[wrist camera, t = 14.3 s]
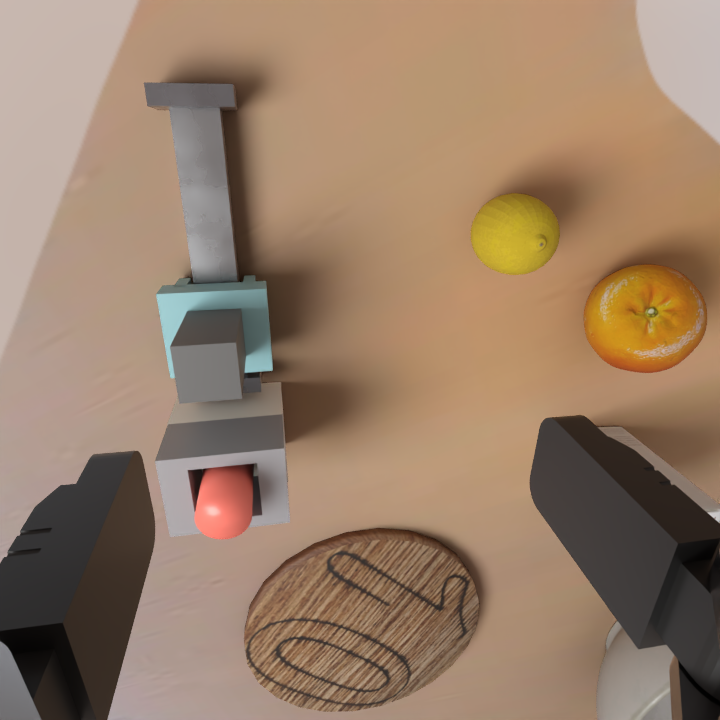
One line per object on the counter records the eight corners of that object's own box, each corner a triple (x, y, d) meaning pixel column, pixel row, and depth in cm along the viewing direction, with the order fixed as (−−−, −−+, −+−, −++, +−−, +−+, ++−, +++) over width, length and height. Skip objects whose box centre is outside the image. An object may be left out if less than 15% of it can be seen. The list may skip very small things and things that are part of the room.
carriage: (167, 279, 36) (131, 326, 26) (266, 274, 37) (266, 319, 27) (179, 355, 38) (150, 425, 28) (272, 349, 39) (274, 414, 30)
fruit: (577, 254, 41) (645, 276, 34) (667, 257, 43) (750, 279, 35) (556, 349, 44) (613, 388, 37) (640, 348, 46) (710, 386, 39)
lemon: (456, 266, 40) (499, 292, 32) (455, 193, 37) (501, 204, 30) (521, 256, 40) (578, 280, 33) (524, 185, 38) (585, 193, 31)
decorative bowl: (767, 625, 67) (865, 717, 56) (600, 727, 70) (662, 834, 59) (711, 510, 56) (820, 597, 45) (515, 636, 59) (573, 747, 48)
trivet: (336, 488, 46) (339, 501, 45) (516, 577, 55) (524, 591, 54) (198, 660, 52) (196, 677, 50) (383, 715, 61) (386, 732, 59)
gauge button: (202, 443, 35) (190, 497, 29) (251, 438, 35) (249, 491, 30) (208, 483, 36) (198, 542, 31) (256, 477, 37) (254, 535, 31)
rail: (155, 88, 31) (143, 82, 28) (235, 89, 32) (232, 83, 29) (197, 379, 39) (192, 397, 37) (261, 374, 40) (261, 391, 37)
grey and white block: (179, 389, 40) (154, 461, 30) (280, 381, 41) (285, 448, 32) (190, 453, 42) (169, 537, 33) (285, 443, 43) (290, 522, 34)
